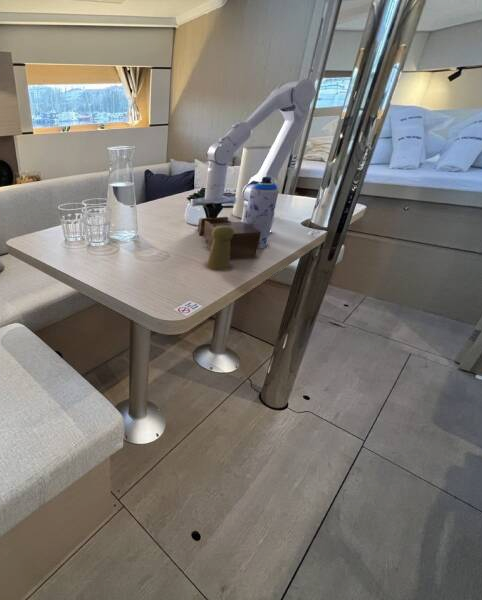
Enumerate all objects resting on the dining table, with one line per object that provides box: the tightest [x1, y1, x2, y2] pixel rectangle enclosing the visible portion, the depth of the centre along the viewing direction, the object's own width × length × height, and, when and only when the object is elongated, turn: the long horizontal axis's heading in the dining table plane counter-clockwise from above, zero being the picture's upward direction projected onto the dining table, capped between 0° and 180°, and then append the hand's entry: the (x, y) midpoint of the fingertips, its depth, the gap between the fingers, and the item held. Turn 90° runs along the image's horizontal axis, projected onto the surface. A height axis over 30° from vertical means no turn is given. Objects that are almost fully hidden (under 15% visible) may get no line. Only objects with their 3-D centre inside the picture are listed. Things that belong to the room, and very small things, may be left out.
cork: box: [206, 226, 234, 271], centre depth 84 cm, size 6×6×11 cm
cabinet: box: [206, 221, 261, 260], centre depth 93 cm, size 11×10×8 cm
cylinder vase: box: [232, 145, 273, 219], centre depth 122 cm, size 12×12×25 cm
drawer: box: [198, 216, 232, 241], centre depth 104 cm, size 14×9×6 cm, turn 4°
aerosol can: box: [244, 177, 279, 249], centre depth 95 cm, size 8×8×20 cm
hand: (210, 226), depth 108 cm, fingers closed, pressing on drawer
